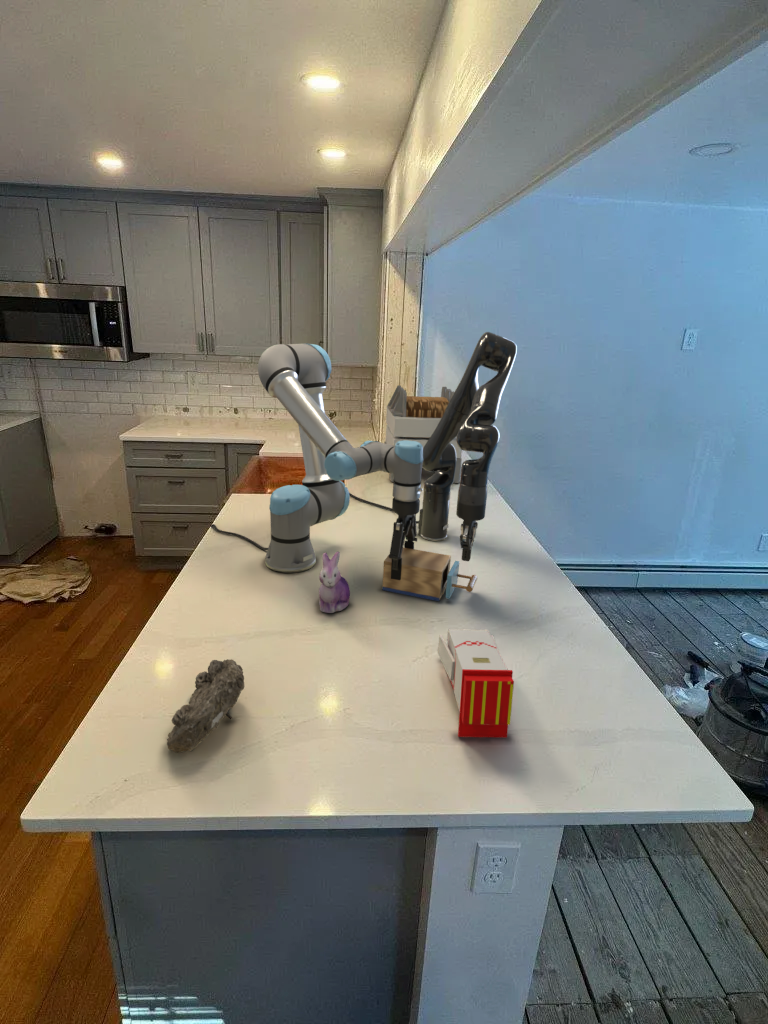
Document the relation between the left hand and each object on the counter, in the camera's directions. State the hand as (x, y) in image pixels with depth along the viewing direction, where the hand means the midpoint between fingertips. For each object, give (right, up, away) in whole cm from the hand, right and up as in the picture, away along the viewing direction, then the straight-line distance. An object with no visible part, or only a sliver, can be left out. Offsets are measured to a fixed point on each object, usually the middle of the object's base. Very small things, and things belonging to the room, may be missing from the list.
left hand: (402, 570), depth 162 cm
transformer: (+12, +36, +113) cm, 119 cm away
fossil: (-38, -22, -54) cm, 70 cm away
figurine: (-18, -8, -12) cm, 24 cm away
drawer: (+10, -5, -2) cm, 11 cm away
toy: (+13, -21, -44) cm, 50 cm away
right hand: (+17, +4, -8) cm, 19 cm away
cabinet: (+4, -5, 0) cm, 6 cm away
